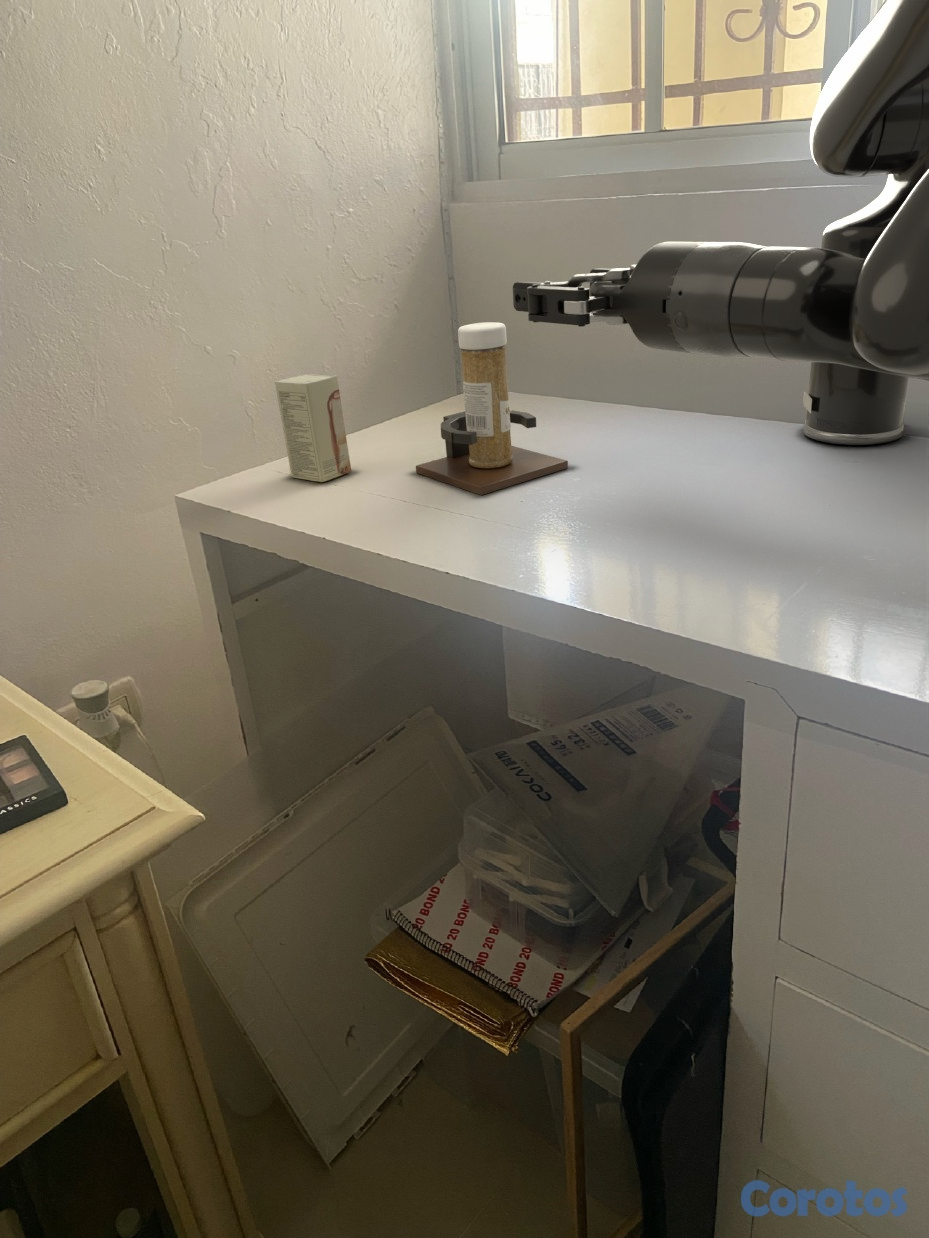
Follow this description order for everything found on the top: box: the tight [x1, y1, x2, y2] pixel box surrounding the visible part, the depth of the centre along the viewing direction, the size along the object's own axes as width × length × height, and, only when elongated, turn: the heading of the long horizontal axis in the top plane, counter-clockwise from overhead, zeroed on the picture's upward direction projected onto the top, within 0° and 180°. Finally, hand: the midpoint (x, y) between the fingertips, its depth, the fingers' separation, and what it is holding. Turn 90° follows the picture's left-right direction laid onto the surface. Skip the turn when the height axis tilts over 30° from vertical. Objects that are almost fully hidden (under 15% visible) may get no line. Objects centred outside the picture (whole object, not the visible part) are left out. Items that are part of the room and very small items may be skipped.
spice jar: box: [457, 321, 513, 469], centre depth 88 cm, size 5×5×14 cm
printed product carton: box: [274, 373, 352, 483], centre depth 93 cm, size 5×4×10 cm
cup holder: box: [415, 409, 569, 496], centre depth 91 cm, size 11×11×5 cm
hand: (555, 288), depth 76 cm, fingers open, 8 cm apart
